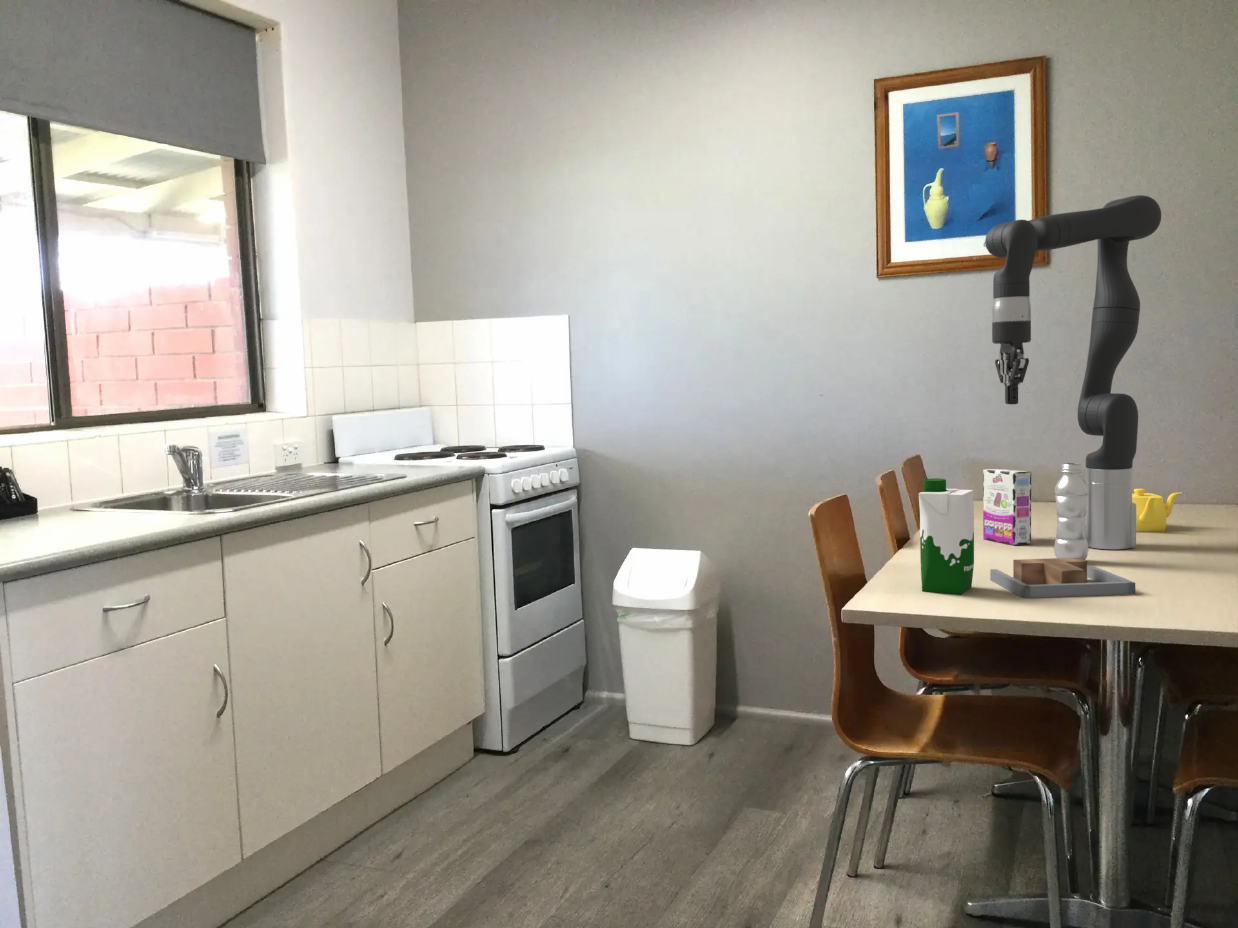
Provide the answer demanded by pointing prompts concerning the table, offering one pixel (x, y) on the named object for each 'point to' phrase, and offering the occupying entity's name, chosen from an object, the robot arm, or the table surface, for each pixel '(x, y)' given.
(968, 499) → the soya milk
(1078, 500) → the plastic bottle
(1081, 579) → the t block
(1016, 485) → the candy bar box
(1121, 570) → the table surface
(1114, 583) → the bay frame
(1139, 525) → the teapot
